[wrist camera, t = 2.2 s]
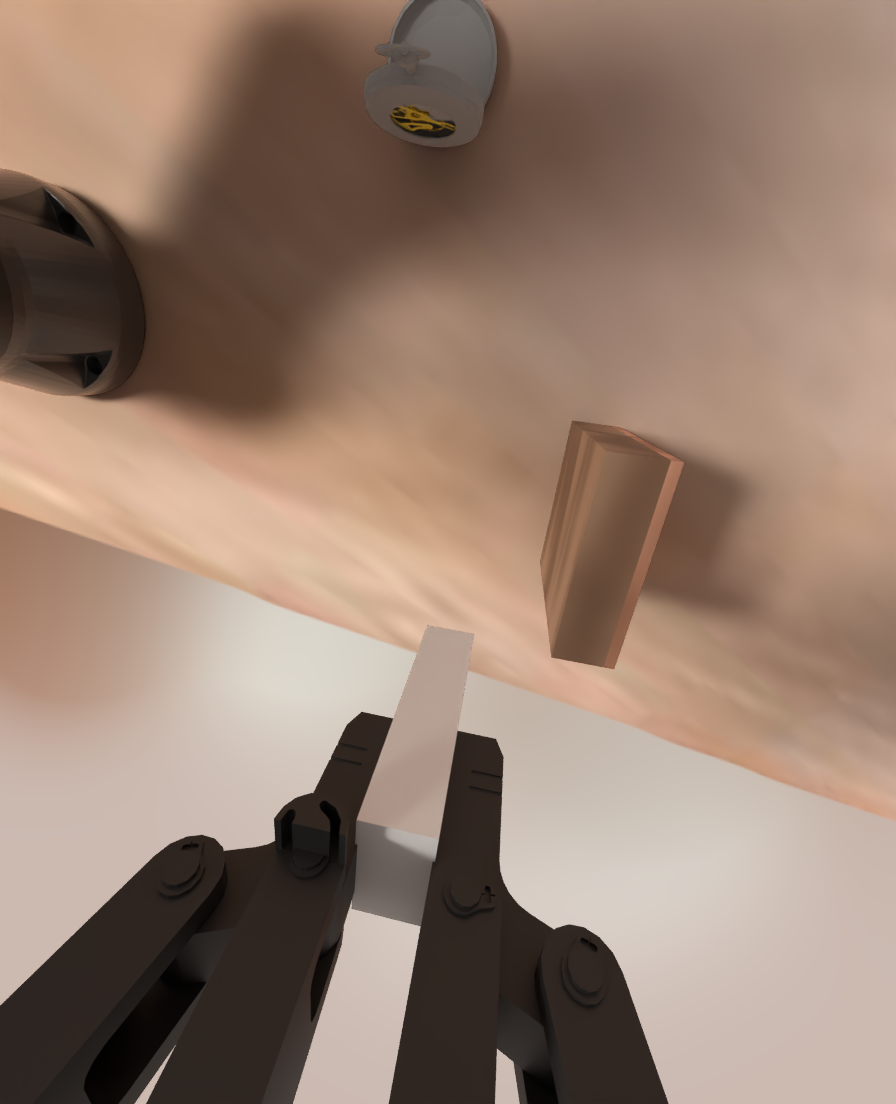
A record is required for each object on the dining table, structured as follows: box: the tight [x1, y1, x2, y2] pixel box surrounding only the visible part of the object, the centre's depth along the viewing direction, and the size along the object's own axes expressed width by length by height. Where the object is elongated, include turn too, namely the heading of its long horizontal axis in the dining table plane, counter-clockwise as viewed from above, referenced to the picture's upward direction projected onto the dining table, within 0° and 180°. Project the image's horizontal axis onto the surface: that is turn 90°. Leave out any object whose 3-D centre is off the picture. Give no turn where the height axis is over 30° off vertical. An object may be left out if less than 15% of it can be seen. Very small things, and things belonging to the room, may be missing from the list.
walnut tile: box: [540, 421, 684, 669], centre depth 29 cm, size 4×12×14 cm, turn 173°
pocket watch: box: [364, 0, 497, 147], centre depth 23 cm, size 8×8×10 cm
